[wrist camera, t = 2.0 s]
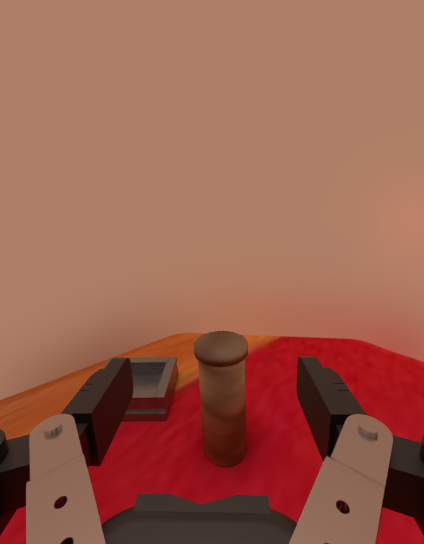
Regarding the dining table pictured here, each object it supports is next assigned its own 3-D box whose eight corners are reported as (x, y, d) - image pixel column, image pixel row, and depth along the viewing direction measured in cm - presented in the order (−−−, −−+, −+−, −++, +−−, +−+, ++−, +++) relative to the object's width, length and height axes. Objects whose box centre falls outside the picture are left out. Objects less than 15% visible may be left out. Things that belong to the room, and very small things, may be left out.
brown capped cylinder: (246, 426, 30) (245, 330, 27) (251, 470, 25) (250, 358, 22) (202, 427, 30) (196, 331, 27) (199, 470, 25) (191, 359, 22)
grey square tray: (178, 373, 40) (176, 355, 39) (165, 420, 31) (163, 399, 30) (114, 374, 40) (111, 357, 40) (84, 421, 32) (79, 400, 31)
